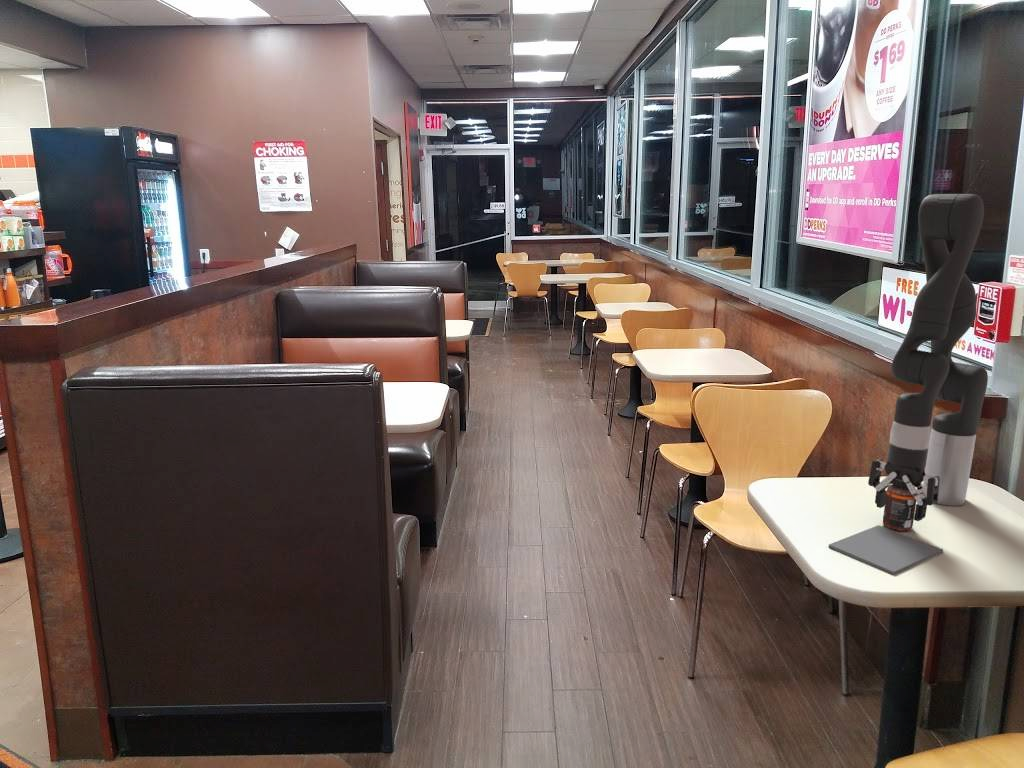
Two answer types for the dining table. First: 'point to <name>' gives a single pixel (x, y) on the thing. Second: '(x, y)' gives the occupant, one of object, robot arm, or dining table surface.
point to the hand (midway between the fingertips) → (898, 513)
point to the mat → (886, 549)
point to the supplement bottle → (899, 507)
